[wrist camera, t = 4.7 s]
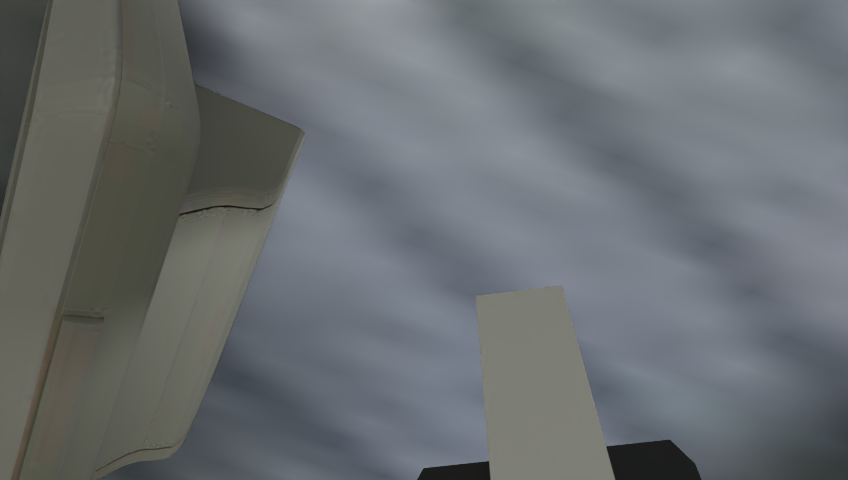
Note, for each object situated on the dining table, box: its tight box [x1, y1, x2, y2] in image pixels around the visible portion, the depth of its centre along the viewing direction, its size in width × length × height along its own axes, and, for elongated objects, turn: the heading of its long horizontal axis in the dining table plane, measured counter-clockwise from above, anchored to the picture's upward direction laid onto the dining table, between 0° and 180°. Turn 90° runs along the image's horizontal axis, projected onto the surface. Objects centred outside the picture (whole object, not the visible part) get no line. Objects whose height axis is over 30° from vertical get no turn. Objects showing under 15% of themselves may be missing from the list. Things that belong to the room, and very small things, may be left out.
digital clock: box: [0, 0, 305, 480], centre depth 19 cm, size 16×9×11 cm, turn 145°
